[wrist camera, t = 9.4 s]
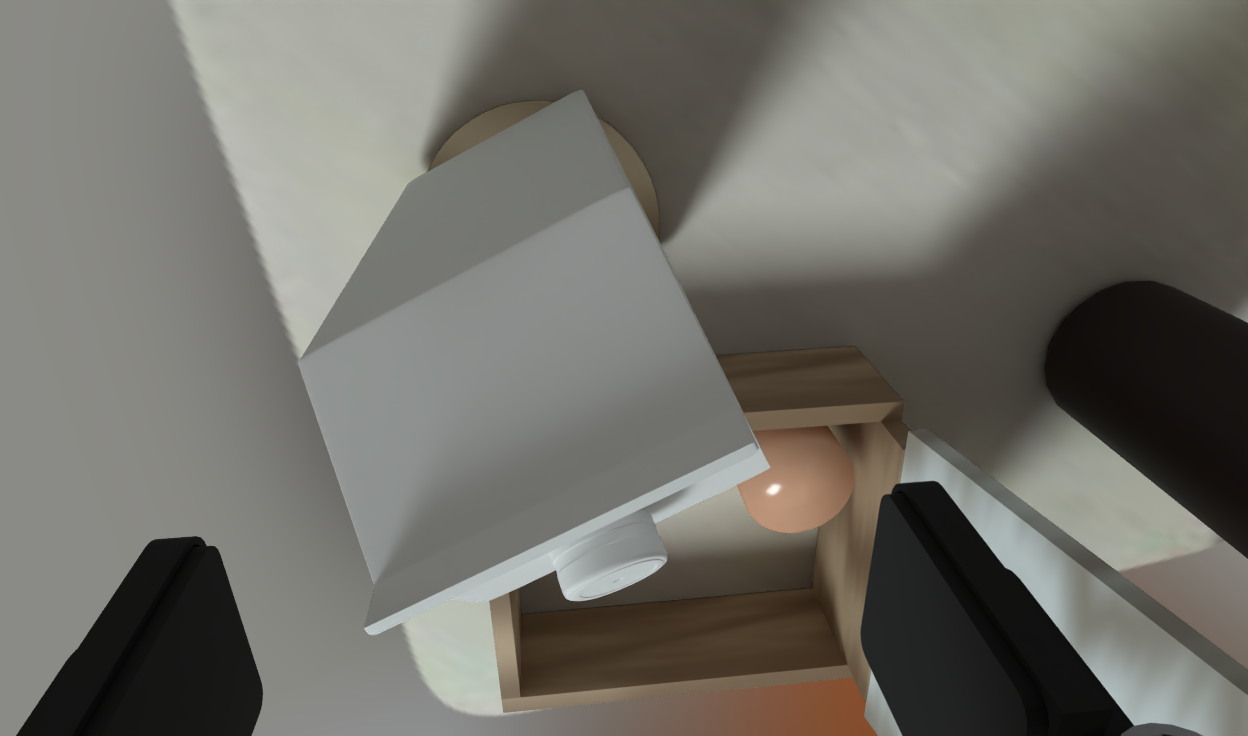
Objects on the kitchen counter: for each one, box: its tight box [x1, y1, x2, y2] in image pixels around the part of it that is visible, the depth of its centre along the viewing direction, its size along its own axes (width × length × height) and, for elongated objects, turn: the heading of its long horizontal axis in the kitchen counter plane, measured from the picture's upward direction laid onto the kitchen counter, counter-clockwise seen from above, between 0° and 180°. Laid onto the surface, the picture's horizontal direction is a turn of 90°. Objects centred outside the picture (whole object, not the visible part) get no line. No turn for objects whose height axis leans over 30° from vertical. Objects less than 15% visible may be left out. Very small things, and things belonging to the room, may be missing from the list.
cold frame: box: [489, 346, 1248, 736], centre depth 27 cm, size 14×19×22 cm
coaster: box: [427, 101, 660, 238], centre depth 30 cm, size 9×9×1 cm
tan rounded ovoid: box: [737, 426, 855, 533], centre depth 33 cm, size 4×4×5 cm
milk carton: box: [298, 90, 771, 635], centre depth 21 cm, size 7×7×19 cm
